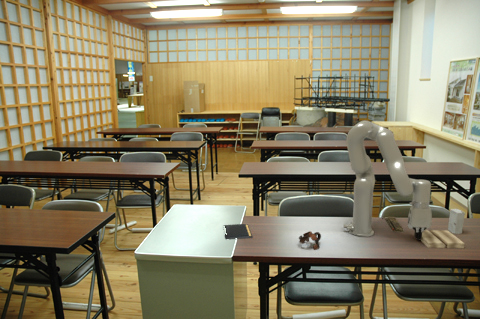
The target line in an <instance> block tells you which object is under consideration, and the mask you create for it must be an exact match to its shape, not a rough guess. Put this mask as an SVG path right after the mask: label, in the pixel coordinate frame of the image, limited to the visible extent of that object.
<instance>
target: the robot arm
mask: <svg viewBox="0 0 480 319" xmlns="http://www.w3.org/2000/svg"><path fill="white" fill-rule="evenodd" d="M365 139H370V140H372V141H374V142H375V143H376V145H377V147H378V149H379V152H380V154H381V156H382V159H383V161H384V163H385V166H386V168H387V171H388V172H389V175H390V178H391V180H392V184H393V186H394V188H395V190H396V192H397V193H398V194H399V196H401V197H409V196H411V195H412V200H411V201H410V202H409V205H410V208H409V212H408V217H407V223H408V224H407V228H408V229H410V230H411V229H412V230H413V231H414V238H415V239H416V240H418V241H421V238H422V233H423V231H424V230H428V229H431V227H432V224H433V222H432V220H433V215H432V208H431V207H430V200H431V191H432V190H431V188H432V184H431V183H432V182H430V180H427V179H416V178H411V177H409V175H408V173H407V170H406V167H405V161H404V157H403V155H402V153H401V150H400V149H399V146H398V144H397V141H396V139H395V135H394V132H393V131H392V130H391V129H389V128H386V127H384V126H381V125H379V124H376V123H374V122H372V121H369V120H361V121H358V122H357V123H356V124H355V125H353V126H352V128H351V129H349V131H348V133H347V135H346V147H347V152H348V158H349V163H350V167H351V170H352V171H353V172H354V173H355V177H356V179H355V180H354V182H353V183H354V184H353V209H352V211H353V212H352V222H350V223H349V224H343V229H346V230H348V232H349V233H350V234H352V235H354V236H356V237H363V238H366V237H367V238H369V237H372V236H374V234H375V231H374V230H373V229H372V218H373V202H374V188H375V183H376V177H375V173H374V168H373V163H372V160H371V158H370V156H369V155H367V152H366V147H365V144H364V141H365Z"/></svg>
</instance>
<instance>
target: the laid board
mask: <svg viewBox="0 0 480 319" xmlns="http://www.w3.org/2000/svg"><path fill="white" fill-rule="evenodd" d="M429 232H431V233H432V234H433V235H434V236H435V237H437V238H438V239H439V240H440V241H441V242H442V243H444V244H445V245H446V246H445V248H447V249H465V244H466V243H465V242H464V241H462V240H461V239H460V238H458V237H457V236H456V235H455V234H454V233H452V232H450V231H449V230H448V229H447V230H446V229H445V230H442V229H441V230H437V229H436V230H434V229H433V230H432V229H431V230H429Z"/></svg>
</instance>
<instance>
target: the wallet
mask: <svg viewBox="0 0 480 319" xmlns="http://www.w3.org/2000/svg"><path fill="white" fill-rule="evenodd" d="M223 226H225V228H226V233H227V235H226V234H225V235H224V239H225V240H227V239H229V240H242V239H244V240H245V239H253V238H254V236H253V235H252V232H251V229H250V226H249V224H247V223H246V224H245V223H238V224H237V223H235V224H224V225H223ZM235 238H237V239H235Z"/></svg>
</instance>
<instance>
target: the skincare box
mask: <svg viewBox="0 0 480 319" xmlns="http://www.w3.org/2000/svg"><path fill="white" fill-rule="evenodd" d="M465 213H466V212H464V211H463V210H460V209H458V208H450V211H449V218H448V224H447V230H448V231H449V232H450V233H452V234H453V235H460V234H462V233H463V226H464V221H465Z"/></svg>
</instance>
